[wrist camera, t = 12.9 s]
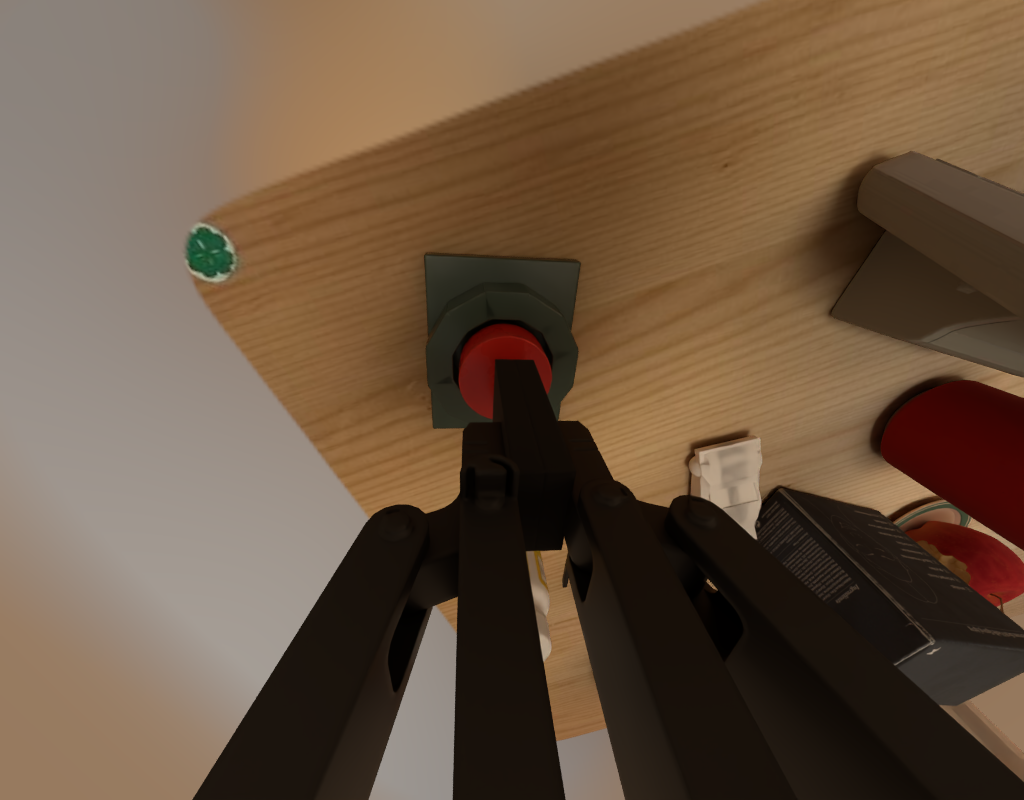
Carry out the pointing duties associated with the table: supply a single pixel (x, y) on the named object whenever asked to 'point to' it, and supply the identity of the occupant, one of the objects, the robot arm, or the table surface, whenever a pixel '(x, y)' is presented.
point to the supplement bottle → (540, 599)
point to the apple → (966, 550)
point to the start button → (481, 362)
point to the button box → (496, 320)
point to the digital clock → (942, 262)
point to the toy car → (730, 478)
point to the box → (894, 594)
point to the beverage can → (965, 451)
